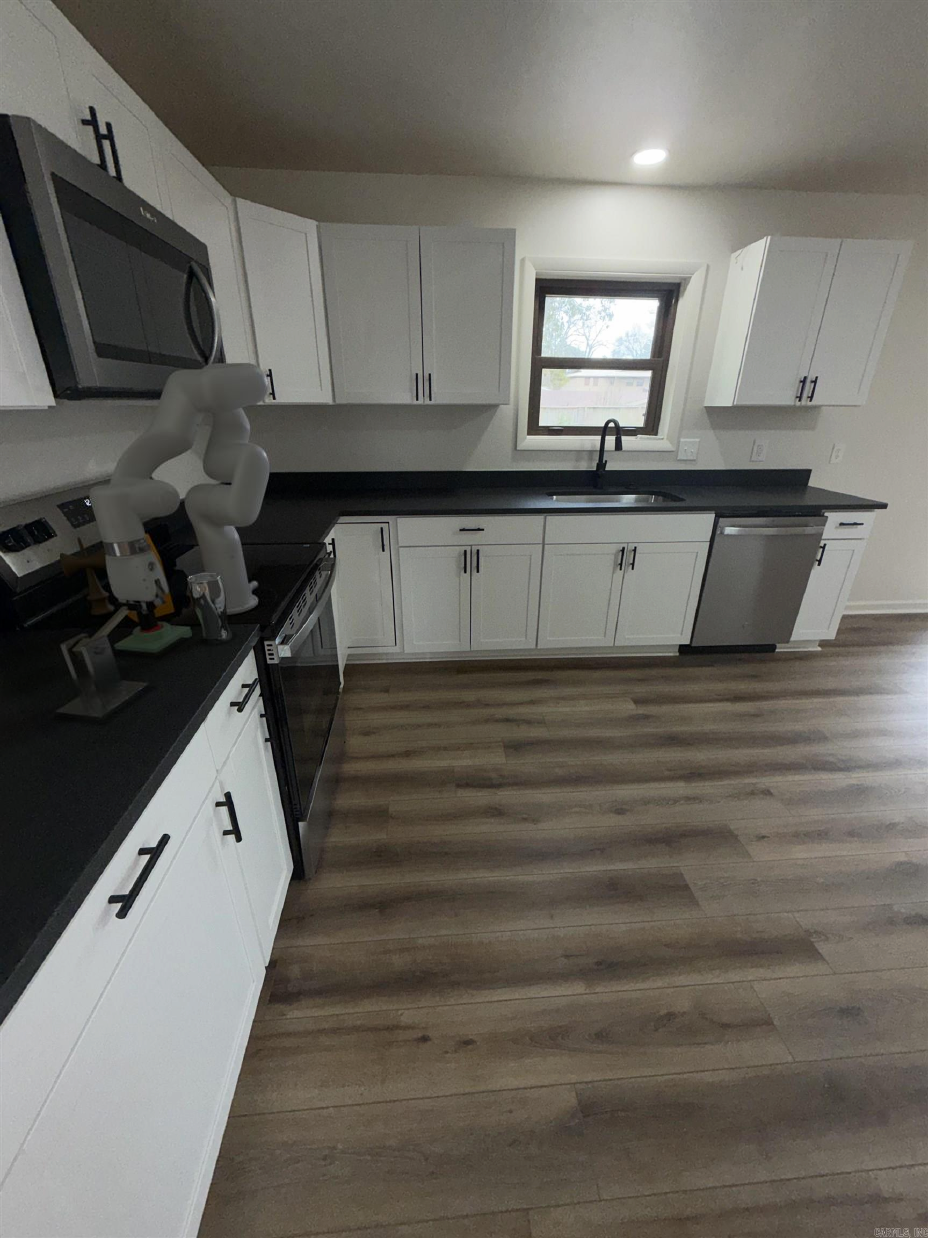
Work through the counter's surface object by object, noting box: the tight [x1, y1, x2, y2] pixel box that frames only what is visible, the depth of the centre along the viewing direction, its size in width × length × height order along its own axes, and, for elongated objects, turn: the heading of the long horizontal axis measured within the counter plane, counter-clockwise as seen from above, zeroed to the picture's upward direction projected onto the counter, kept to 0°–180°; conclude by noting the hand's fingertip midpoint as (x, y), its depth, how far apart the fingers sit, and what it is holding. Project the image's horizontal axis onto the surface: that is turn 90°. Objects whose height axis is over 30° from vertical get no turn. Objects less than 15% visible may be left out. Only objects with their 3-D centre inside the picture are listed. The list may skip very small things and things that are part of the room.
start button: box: [141, 624, 162, 633], centre depth 110 cm, size 4×4×2 cm
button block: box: [113, 621, 193, 654], centre depth 110 cm, size 11×10×4 cm
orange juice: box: [125, 533, 175, 623], centre depth 122 cm, size 8×9×20 cm
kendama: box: [59, 536, 115, 616], centre depth 123 cm, size 6×10×20 cm, turn 124°
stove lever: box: [72, 601, 143, 660], centre depth 89 cm, size 13×5×2 cm, turn 170°
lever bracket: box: [55, 633, 149, 718], centre depth 87 cm, size 11×9×13 cm
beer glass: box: [186, 571, 233, 642], centre depth 110 cm, size 7×7×15 cm
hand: (149, 627), depth 109 cm, fingers closed
